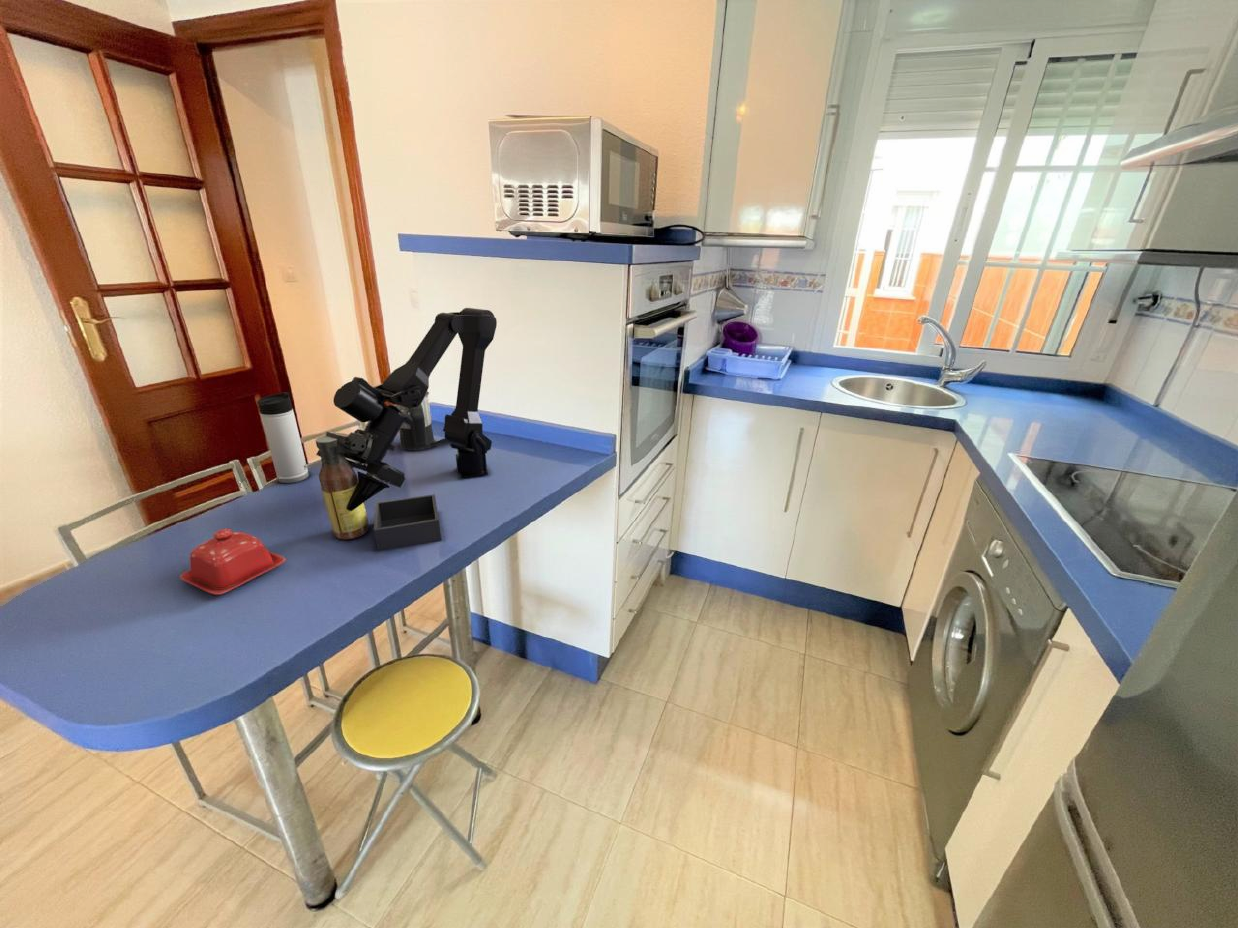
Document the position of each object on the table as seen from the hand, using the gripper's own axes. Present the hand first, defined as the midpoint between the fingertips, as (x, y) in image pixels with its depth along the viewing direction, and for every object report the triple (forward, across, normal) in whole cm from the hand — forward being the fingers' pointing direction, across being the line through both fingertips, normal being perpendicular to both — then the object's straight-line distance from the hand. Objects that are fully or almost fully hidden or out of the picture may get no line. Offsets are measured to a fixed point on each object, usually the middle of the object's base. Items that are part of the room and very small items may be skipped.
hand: (337, 505), depth 94 cm
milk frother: (-25, -22, +35) cm, 48 cm away
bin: (-1, +9, +10) cm, 14 cm away
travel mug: (-2, -33, +12) cm, 35 cm away
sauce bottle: (+4, 0, +6) cm, 7 cm away
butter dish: (+17, -4, -7) cm, 19 cm away
